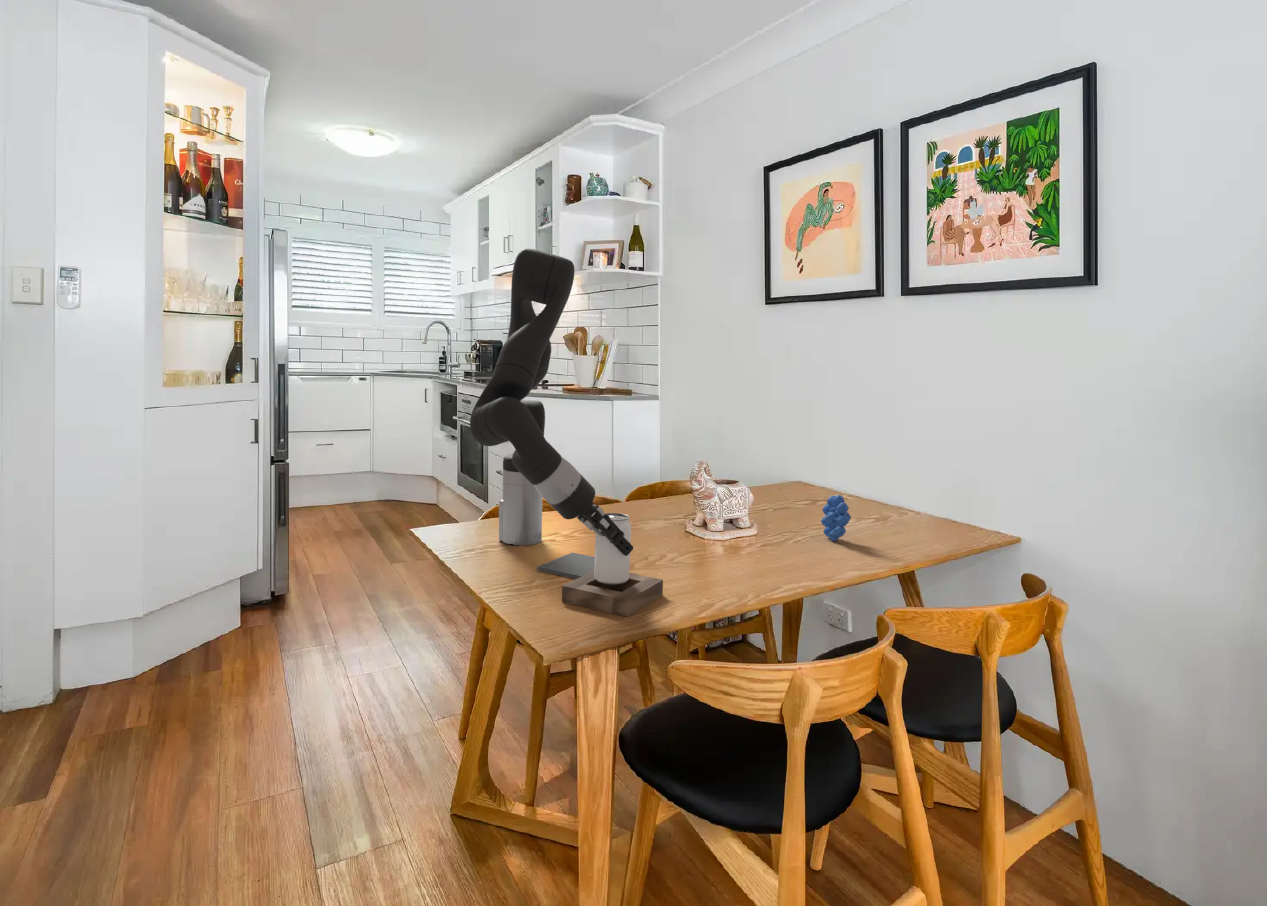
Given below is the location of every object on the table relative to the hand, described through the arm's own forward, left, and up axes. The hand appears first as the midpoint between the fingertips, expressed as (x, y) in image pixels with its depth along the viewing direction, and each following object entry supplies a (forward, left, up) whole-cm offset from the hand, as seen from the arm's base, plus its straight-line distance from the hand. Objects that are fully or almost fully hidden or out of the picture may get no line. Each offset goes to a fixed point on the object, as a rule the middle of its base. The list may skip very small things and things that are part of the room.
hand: (621, 546), depth 134 cm
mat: (-16, +11, -10) cm, 21 cm away
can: (-1, -1, -6) cm, 7 cm away
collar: (-1, -1, -10) cm, 10 cm away
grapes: (+24, +67, -10) cm, 72 cm away
